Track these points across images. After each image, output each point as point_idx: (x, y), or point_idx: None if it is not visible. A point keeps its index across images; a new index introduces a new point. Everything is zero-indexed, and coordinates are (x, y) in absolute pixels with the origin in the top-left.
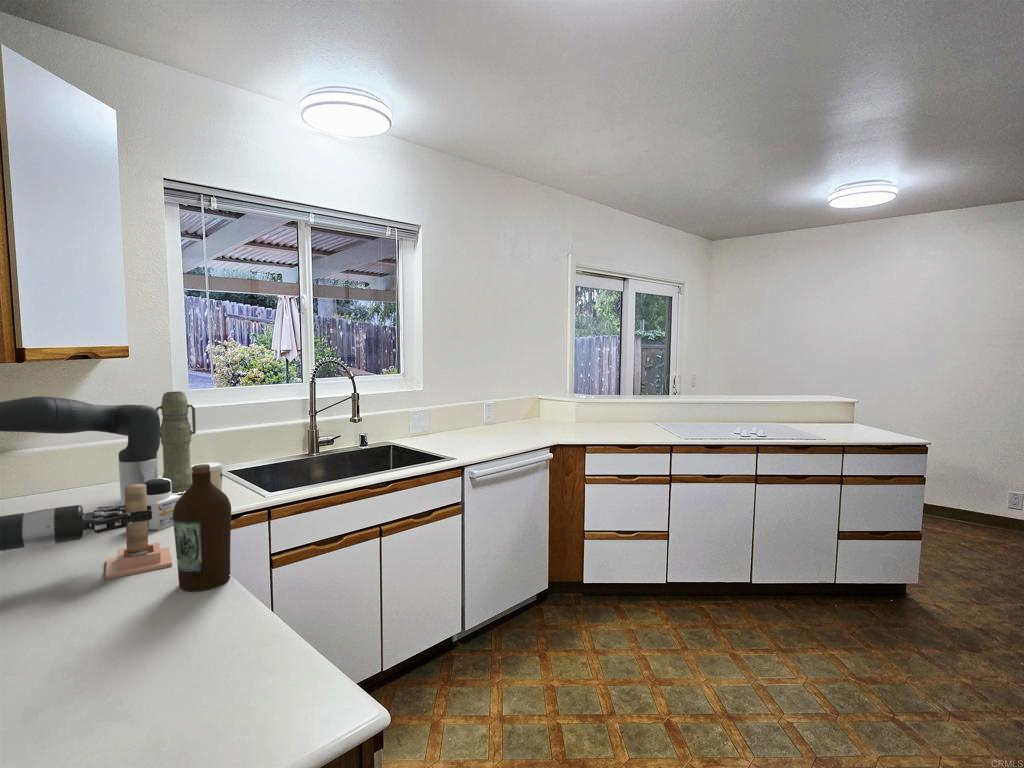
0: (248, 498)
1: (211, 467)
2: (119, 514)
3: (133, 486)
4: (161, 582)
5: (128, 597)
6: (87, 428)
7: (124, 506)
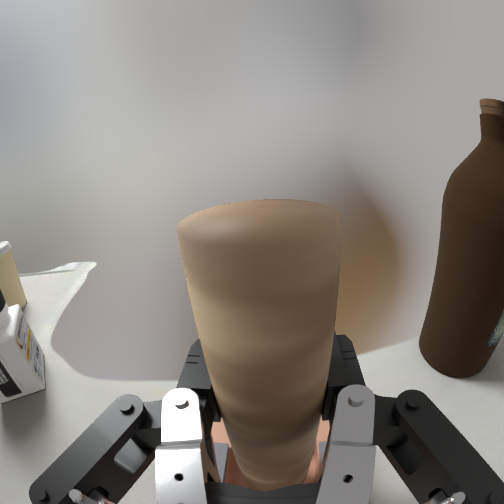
0: (54, 281)
1: (3, 247)
2: (368, 437)
3: (261, 219)
4: (442, 412)
5: (496, 442)
6: None
7: (140, 410)
